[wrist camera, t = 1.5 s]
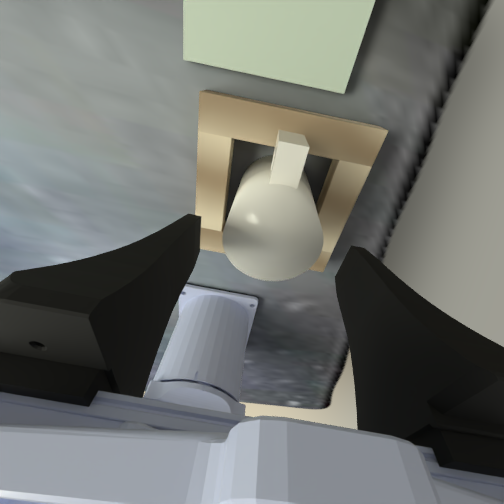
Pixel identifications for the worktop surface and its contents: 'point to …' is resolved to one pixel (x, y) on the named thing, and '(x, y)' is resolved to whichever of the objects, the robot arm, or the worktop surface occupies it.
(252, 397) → the worktop surface
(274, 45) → the sage board
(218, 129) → the collar
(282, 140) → the jug
